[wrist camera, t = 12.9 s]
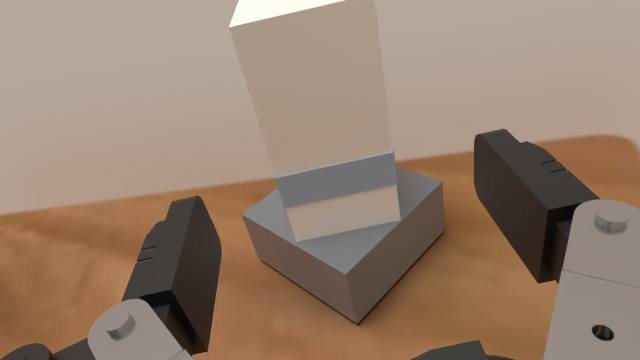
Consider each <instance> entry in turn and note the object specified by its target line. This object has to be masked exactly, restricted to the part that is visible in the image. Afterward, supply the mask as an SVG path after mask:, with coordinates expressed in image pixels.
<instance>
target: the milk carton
mask: <svg viewBox="0 0 640 360" xmlns="http://www.w3.org/2000/svg"><path fill="white" fill-rule="evenodd" d="M229 29H230V32H231V35H232V38H233V41H234V45H235V48H236V51H237V54H238V58H239V61H240V64H241V67H242V70H243V74H244V77H245V80H246V83H247V86H248V90H249V93H250V96H251V99H252V102H253V105H254V109H255V112H256V115H257V118H258V121H259V125H260V128H261V131H262V134H263V138H264V141H265V144H266V147H267V150H268V154H269V157H270V160H271V163H272V166H273V170H274V173H275V180H276V183H277V186H278V189H279V193H280V196H281V199H282V202H283V205H284V209H285V208H286V211H287V214H288V218H289V221H290V224H291V227H292V230H293V234H294V237H295V240H296V242H299V241H304V240H308V239H313V238H318V237H322V236H327V235H332V234H337V233H341V232H346V231H351V230H355V229H360V228H365V227H370V226H374V225H379V224H384V223H388V222H393V221H398V220H401V218H400V210H399V202H398V193H397V184H398V183H397V175H396V166H395V158H394V151H393V150H392V142H391V134H390V125H389V117H388V108H387V100H386V91H385V84H384V74H383V66H382V57H381V49H380V40H379V32H378V23H377V15H376V6H375V0H239V2H238V4H237V7H236V10H235V12H234V15H233V18H232V21H231V23H230V26H229Z"/></svg>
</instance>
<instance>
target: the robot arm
mask: <svg viewBox="0 0 640 360" xmlns="http://www.w3.org/2000/svg"><path fill="white" fill-rule="evenodd" d="M474 185H475V189H476V193H477V195H478V198H479V200H480V201H481V203H482V204H483V206H484V207H485V208H486V210H487V211H488V213H489V214H490V216H491V217H492V218H493V220H494V221H495V223H496V224H497V226H498V227H499V228H500V230H501V231H502V233H503V234H504V236H505V237H506V238H507V240H508V241H509V243H510V244H511V246H512V247H513V248H514V250H515V251H516V253H517V254H518V255H519V257H520V258H521V260H522V261H523V263H524V264H525V265H526V267H527V268H528V270H529V271H530V273H531V274H532V275H533V277H534V278H535V280H536V281H537V283H543V282H548V281H553V280H556V281H557V283H558V284H559V285H558V290H557V295H556V300H555V305H554V310H553V315H552V319H551V324H550V329H549V334H548V339H547V344H546V349H545V353H544V358H543V360H640V210H639V209H638V208H636V207H634V206H632V205H629V204H627V203H623V202H620V201H615V200H607V199H600V198H599V197H597V196H596V195H595V194H594V193H593V192H592V191H591V190H590V189H589V188H587V187H586V186H585V185H584V184H583V183H582V182H581V181H580V180H579V179H577V178H576V177H575V176H574V175H573V174H572V173H571V172H570V171H569V170H567V171H566V168H565V167H564V166H563V165H562V164H561V163H560V162H557V161H556V159H555V158H554V157H553V156H552V155H551V154H550V153H548V152H547V151H546V150H545V149H543V148H541V147H539V146H536V145H534V144H532V143H529V142H523V143H520V142H519V141H518V140H516V139H515V138H514V137H513V136H512V135H511V134H510V133H509V132H508V131H507V130H506V129H500V130H495V131H491V132H486V133H482V134H478V135H476V137H475V140H474ZM141 250H142V252H140V254H139V256H138V259H137V263H136V264H135V267H134V269H133V272H132V275H131V277H130V280H129V283H128V285H127V288H126V290H125V293H124V296H123V298H122V301H121V302H120V303H118V304H116V305H114V306H112V307H111V308H109V309H108V310H107V311H105V312H104V313H103V314H102V315H101V316H100V317H99V318H98V319H97V320H96V321H95V323H94V324H93V325H92V327H91V329H90V331H89V334H88V338H86V339H84V340H82V341H80V342H78V343H76V344H73V345H71V346H69V347H67V348H65V349H63V350H61V351H59V352H57V353H54V354H52V352H51V351H50V350H49V349H48V348H47V347H46V346H45V345H43V344H38V343H36V344H28V345H25V346H22V347H20V348H18V349H16V350H14V351H12V352H11V353H9V354H7V355H6V356H5V357H3V358H2V359H1V360H193V359H192V355H193V354H198V353H203V352H208V346H209V339H210V332H211V325H212V318H213V311H214V304H215V297H216V290H217V283H218V276H219V269H220V262H221V255H222V251H221V243H220V239H219V236H218V233H217V231H216V229H215V227H214V224H213V222H212V220H211V218H210V216H209V213H208V211H207V209H206V207H205V204H204V202H203V200H202V199H201V197H200V196H194V197H190V198H185V199H181V200H176V201H173V202H172V203H171V205H170V208H169V211H168V214H167V217H166V219H165V221H160V222H157V224H156V225H155V226H154V227H153V228H152V229H151V231H150V232H149V233H148V234H147V235H146V238H145V240H144V243H143V246H142V248H141ZM411 360H514V359H510V358H507V357H500V356H494V355H486V354H485V352H484V349H483V347H482V345H481V343H480V341H479V340H476V341H471V342H466V343H462V344H457V345H452V346H447V347H442V348H437V349H432V350H430V351H428V352H426V353H423V354H421V355H419V356H417V357H415V358H413V359H411Z"/></svg>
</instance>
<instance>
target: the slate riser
mask: <svg viewBox="0 0 640 360" xmlns="http://www.w3.org/2000/svg"><path fill="white" fill-rule="evenodd" d="M396 175H397V183H398V184H397V193H398V202H399V210H400V218H401V220H398V221H393V222H388V223H384V224H379V225H374V226H370V227H365V228H360V229H355V230H351V231H346V232H341V233H337V234H332V235H327V236H322V237H318V238H313V239H308V240H304V241H299V242H296V240H295V237H294V234H293V230H292V227H291V224H290V221H289V218H288V214H287V211H286V208H285V209H284V205H283V202H282V199H281V196H280V193H279V189H276V190H275V191H274V192H272V193H271V194H269V195H268V196H267V197H265V198H264V199H262V200H261V201H259V202H258V203H257V204H255V205H254V206H252V207H251V208H250V209H248V210H247V211H245V212H244V213H243V214H242V217H243V219H244V222H245V224H246V227H247V230H248V232H249V235H250V237H251V240H252V242H253V245H254V247H255V250H256V253H257V255H258V258H259V259H260V260H262V261H263V262H265V263H266V264H268V265H269V266H271V267H272V268H274V269H275V270H277V271H278V272H280V273H281V274H283V275H284V276H286V277H287V278H289V279H290V280H292V281H293V282H295V283H296V284H298V285H299V286H301V287H302V288H304V289H305V290H307V291H308V292H310V293H311V294H313V295H314V296H316V297H317V298H319V299H320V300H322V301H323V302H325V303H326V304H328V305H329V306H331V307H332V308H334V309H335V310H337V311H338V312H340V313H341V314H343V315H344V316H346V317H347V318H349V319H350V320H352V321H353V322H355V323H356V324H358V323H359V322H360V320H361V319H362V318H363V317H364V316H365V315H366V314H367V313H368V312H369V311H370V310H371V309H372V308H373V306H374V305H375V304H376V303H377V302H378V301H379V300H380V299H381V298H382V297H383V296H384V295H385V294H386V292H387V291H388V290H389V289H390V288H391V287H392V286H393V285H394V284H395V283H396V282H397V281H398V280H399V278H400V277H401V276H402V275H403V274H404V273H405V272H406V271H407V270H408V269H409V268H410V267H411V266H412V264H413V263H414V262H415V261H416V260H417V259H418V258H419V257H420V256H421V255H422V254H423V253H424V252H425V250H426V249H427V248H428V247H429V246H430V245H431V244H432V243H433V242H434V241H435V240H436V239H437V238H438V236H439V235H440V234H441V233H442V232H443V231H444V209H443V185H442V181H440V180H437V179H433V178H430V177H427V176H424V175H421V174H418V173H415V172H411V171H408V170H405V169H402V168H399V167H396Z"/></svg>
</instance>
